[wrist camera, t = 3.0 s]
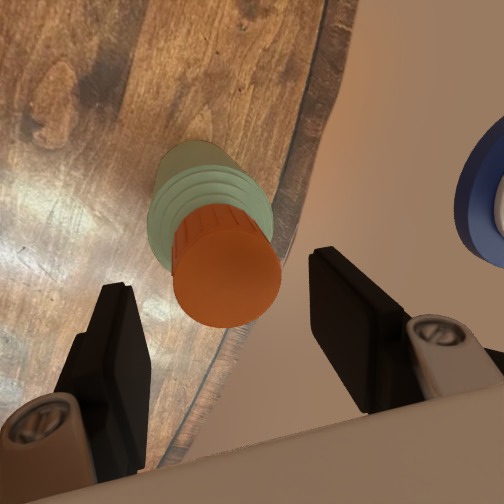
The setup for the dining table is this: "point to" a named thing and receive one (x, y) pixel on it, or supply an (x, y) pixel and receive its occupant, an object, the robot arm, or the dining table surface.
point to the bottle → (200, 193)
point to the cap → (223, 267)
